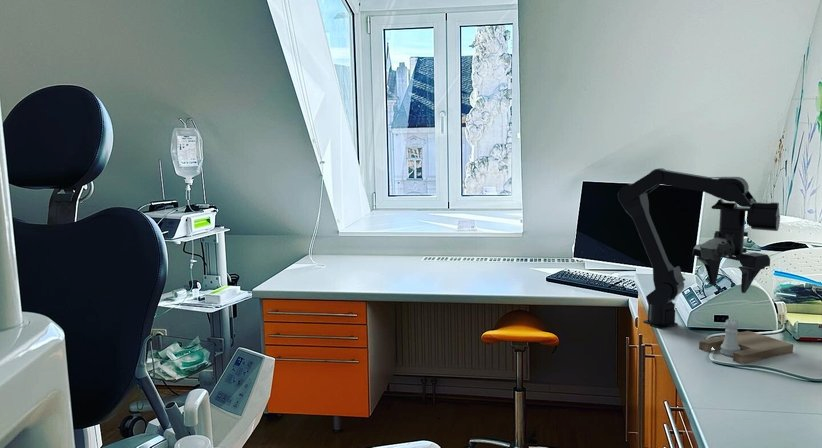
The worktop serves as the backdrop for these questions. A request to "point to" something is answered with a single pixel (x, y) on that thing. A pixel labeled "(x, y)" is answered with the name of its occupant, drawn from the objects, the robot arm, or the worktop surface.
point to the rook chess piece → (730, 338)
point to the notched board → (750, 347)
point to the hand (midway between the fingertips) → (728, 288)
